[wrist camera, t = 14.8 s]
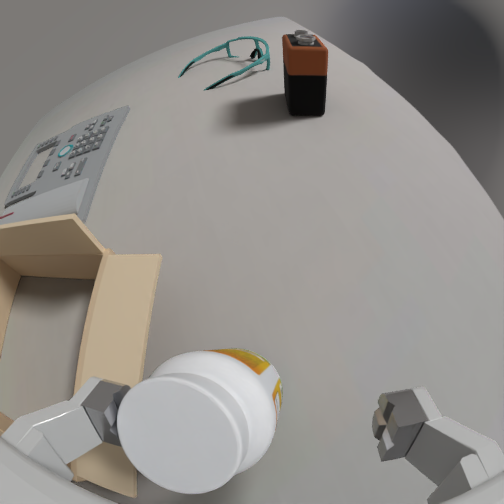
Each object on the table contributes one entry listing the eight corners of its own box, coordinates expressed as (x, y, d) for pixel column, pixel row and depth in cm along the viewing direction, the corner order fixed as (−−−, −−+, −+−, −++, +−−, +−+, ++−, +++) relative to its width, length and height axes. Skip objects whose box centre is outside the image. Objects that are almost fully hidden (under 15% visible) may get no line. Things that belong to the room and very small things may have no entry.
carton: (161, 490, 12) (93, 523, 5) (-23, 398, 15) (-77, 378, 8) (180, 275, 21) (136, 206, 14) (3, 270, 23) (-40, 232, 16)
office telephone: (77, 213, 23) (-21, 244, 23) (90, 228, 25) (-10, 254, 26) (126, 98, 35) (35, 136, 35) (131, 111, 37) (41, 146, 38)
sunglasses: (288, 68, 39) (284, 43, 35) (213, 103, 37) (204, 76, 33) (240, 52, 46) (235, 32, 42) (176, 83, 44) (167, 61, 39)
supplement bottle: (180, 372, 16) (74, 388, 7) (253, 331, 16) (202, 317, 7) (223, 443, 14) (154, 522, 5) (299, 405, 15) (305, 478, 5)
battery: (289, 117, 30) (287, 40, 22) (284, 93, 34) (281, 27, 25) (325, 117, 30) (329, 41, 21) (315, 92, 33) (316, 28, 25)
